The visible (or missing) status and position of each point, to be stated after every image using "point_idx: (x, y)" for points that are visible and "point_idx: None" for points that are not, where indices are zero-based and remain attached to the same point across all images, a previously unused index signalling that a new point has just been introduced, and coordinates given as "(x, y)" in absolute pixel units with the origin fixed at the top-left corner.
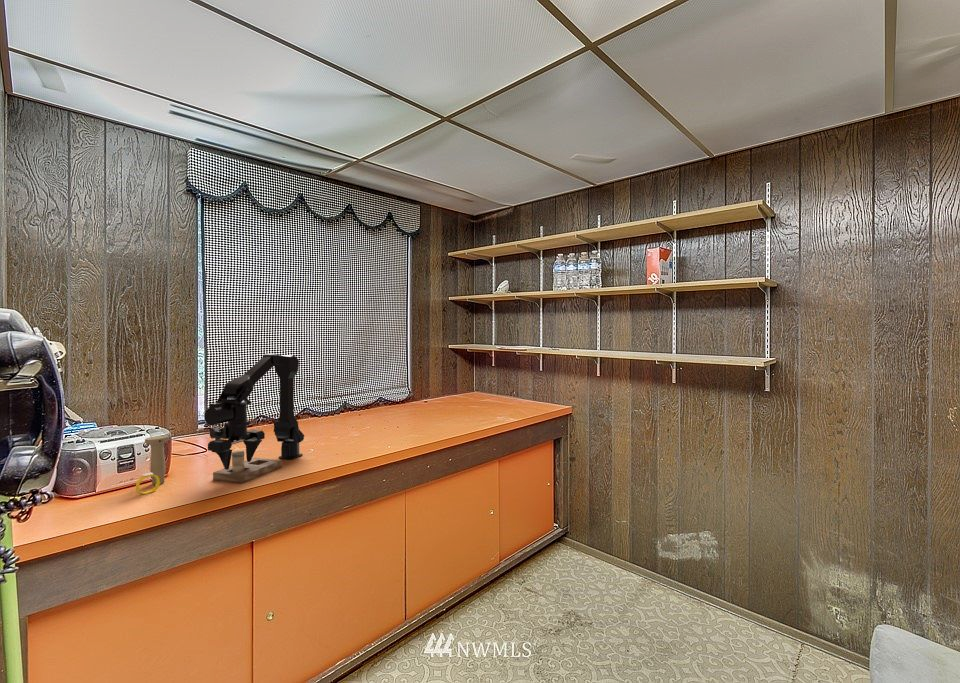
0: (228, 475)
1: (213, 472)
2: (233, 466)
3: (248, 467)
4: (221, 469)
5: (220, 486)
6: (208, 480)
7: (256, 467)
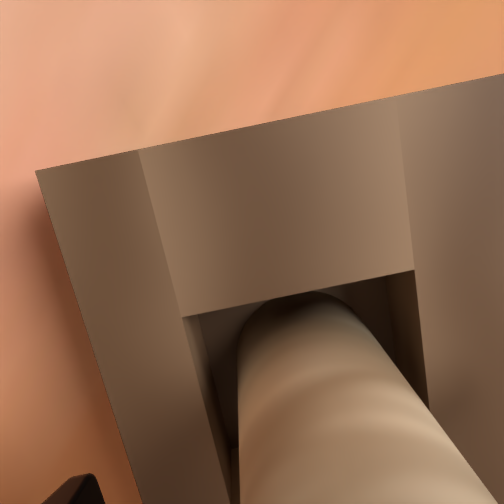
0: (130, 443)
1: (40, 180)
2: (239, 457)
3: (461, 411)
4: (203, 143)
5: (19, 451)
6: (35, 129)
7: (501, 495)
